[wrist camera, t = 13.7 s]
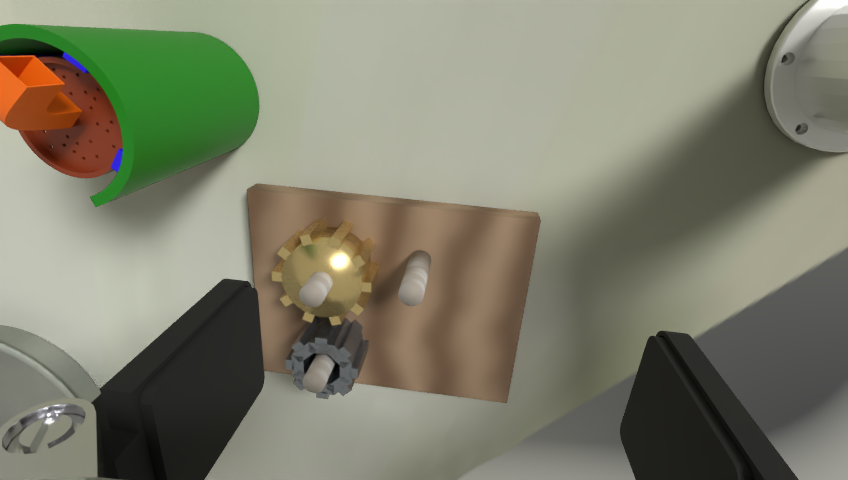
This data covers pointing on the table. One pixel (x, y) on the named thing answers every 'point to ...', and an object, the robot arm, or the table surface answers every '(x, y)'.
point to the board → (452, 295)
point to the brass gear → (328, 269)
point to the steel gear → (329, 353)
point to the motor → (124, 100)
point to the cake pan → (37, 373)
